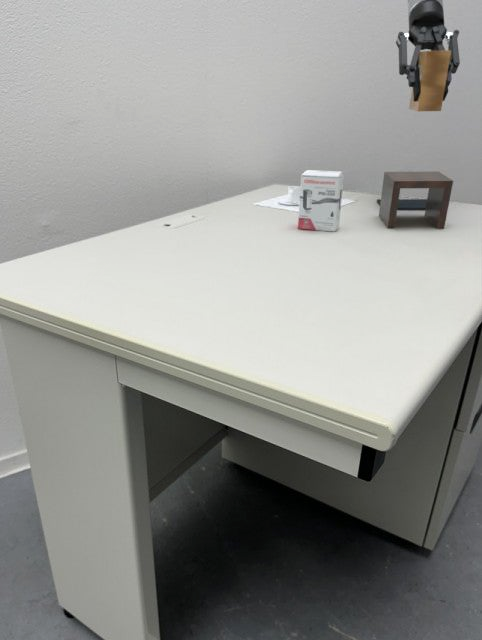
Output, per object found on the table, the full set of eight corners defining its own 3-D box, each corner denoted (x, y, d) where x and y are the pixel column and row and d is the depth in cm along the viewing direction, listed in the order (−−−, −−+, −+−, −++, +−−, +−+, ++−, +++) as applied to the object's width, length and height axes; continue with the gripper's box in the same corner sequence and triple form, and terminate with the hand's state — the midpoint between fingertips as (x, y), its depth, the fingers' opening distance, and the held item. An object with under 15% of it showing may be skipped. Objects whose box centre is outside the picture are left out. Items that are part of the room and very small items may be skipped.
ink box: (296, 229, 121) (300, 173, 115) (301, 224, 125) (305, 169, 120) (335, 232, 118) (341, 174, 113) (339, 226, 122) (345, 171, 117)
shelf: (430, 215, 129) (438, 171, 124) (444, 228, 119) (453, 180, 114) (378, 215, 130) (384, 171, 126) (387, 228, 120) (394, 181, 115)
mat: (431, 201, 142) (432, 199, 142) (441, 210, 134) (442, 207, 133) (376, 201, 144) (376, 199, 144) (383, 210, 135) (383, 207, 135)
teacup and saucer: (291, 198, 150) (292, 182, 148) (315, 201, 145) (317, 186, 143) (271, 203, 145) (272, 187, 143) (296, 207, 140) (297, 191, 138)
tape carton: (431, 108, 129) (440, 51, 123) (441, 110, 121) (451, 50, 115) (408, 108, 129) (416, 52, 124) (417, 111, 121) (426, 51, 116)
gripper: (389, 0, 124) (392, 84, 118) (472, -3, 122) (480, 82, 116) (382, 29, 131) (384, 110, 125) (460, 26, 129) (467, 108, 123)
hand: (430, 96), depth 120 cm, fingers closed on tape carton, 5 cm apart
